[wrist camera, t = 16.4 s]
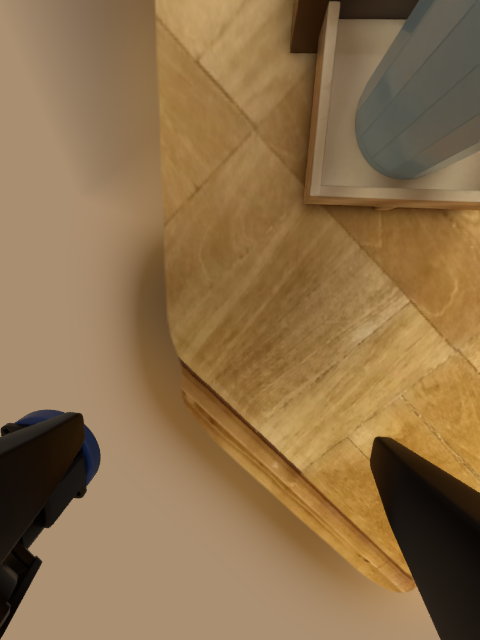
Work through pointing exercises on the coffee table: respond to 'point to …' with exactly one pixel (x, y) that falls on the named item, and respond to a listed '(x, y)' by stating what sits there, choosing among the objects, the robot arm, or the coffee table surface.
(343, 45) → the walnut box
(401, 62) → the tall blue mug
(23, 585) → the robot arm
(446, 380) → the coffee table surface
